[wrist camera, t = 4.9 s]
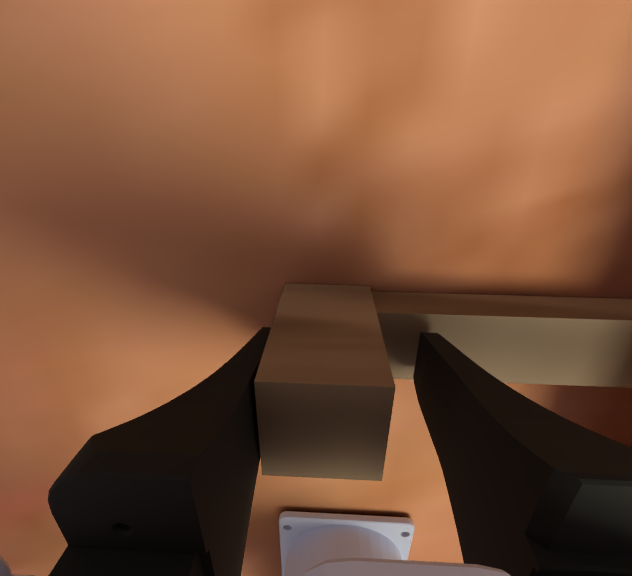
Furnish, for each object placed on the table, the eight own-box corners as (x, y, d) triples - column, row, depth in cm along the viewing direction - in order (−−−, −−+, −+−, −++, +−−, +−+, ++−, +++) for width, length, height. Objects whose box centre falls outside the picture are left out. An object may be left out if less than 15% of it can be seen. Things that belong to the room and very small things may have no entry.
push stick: (677, 366, 15) (883, 505, 9) (287, 352, 15) (261, 474, 10) (718, 295, 13) (994, 410, 8) (285, 283, 14) (253, 381, 8)
